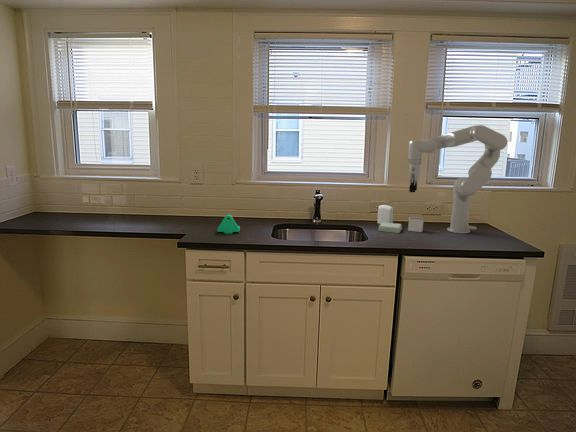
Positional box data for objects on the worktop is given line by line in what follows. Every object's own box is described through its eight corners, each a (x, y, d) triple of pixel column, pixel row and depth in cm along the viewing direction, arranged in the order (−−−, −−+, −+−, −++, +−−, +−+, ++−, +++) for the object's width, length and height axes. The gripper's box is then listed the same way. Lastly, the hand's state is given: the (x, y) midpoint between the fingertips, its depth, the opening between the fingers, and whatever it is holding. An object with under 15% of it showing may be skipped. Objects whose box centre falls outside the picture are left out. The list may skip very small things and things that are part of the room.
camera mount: (240, 230, 234) (240, 213, 232) (239, 233, 227) (238, 215, 225) (219, 230, 234) (218, 212, 232) (217, 233, 226) (217, 215, 224)
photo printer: (376, 223, 259) (377, 204, 256) (380, 222, 261) (381, 203, 259) (389, 226, 251) (390, 206, 248) (393, 225, 254) (395, 206, 251)
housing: (422, 230, 242) (423, 217, 241) (422, 232, 238) (423, 218, 236) (408, 229, 245) (409, 216, 243) (407, 230, 240) (408, 217, 239)
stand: (401, 228, 245) (401, 223, 244) (399, 233, 234) (399, 228, 233) (381, 226, 249) (381, 222, 249) (378, 231, 238) (378, 226, 238)
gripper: (420, 163, 227) (418, 193, 230) (422, 161, 242) (421, 189, 246) (406, 162, 229) (404, 192, 233) (409, 160, 245) (408, 189, 248)
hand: (413, 191), depth 239 cm, fingers open, 9 cm apart
